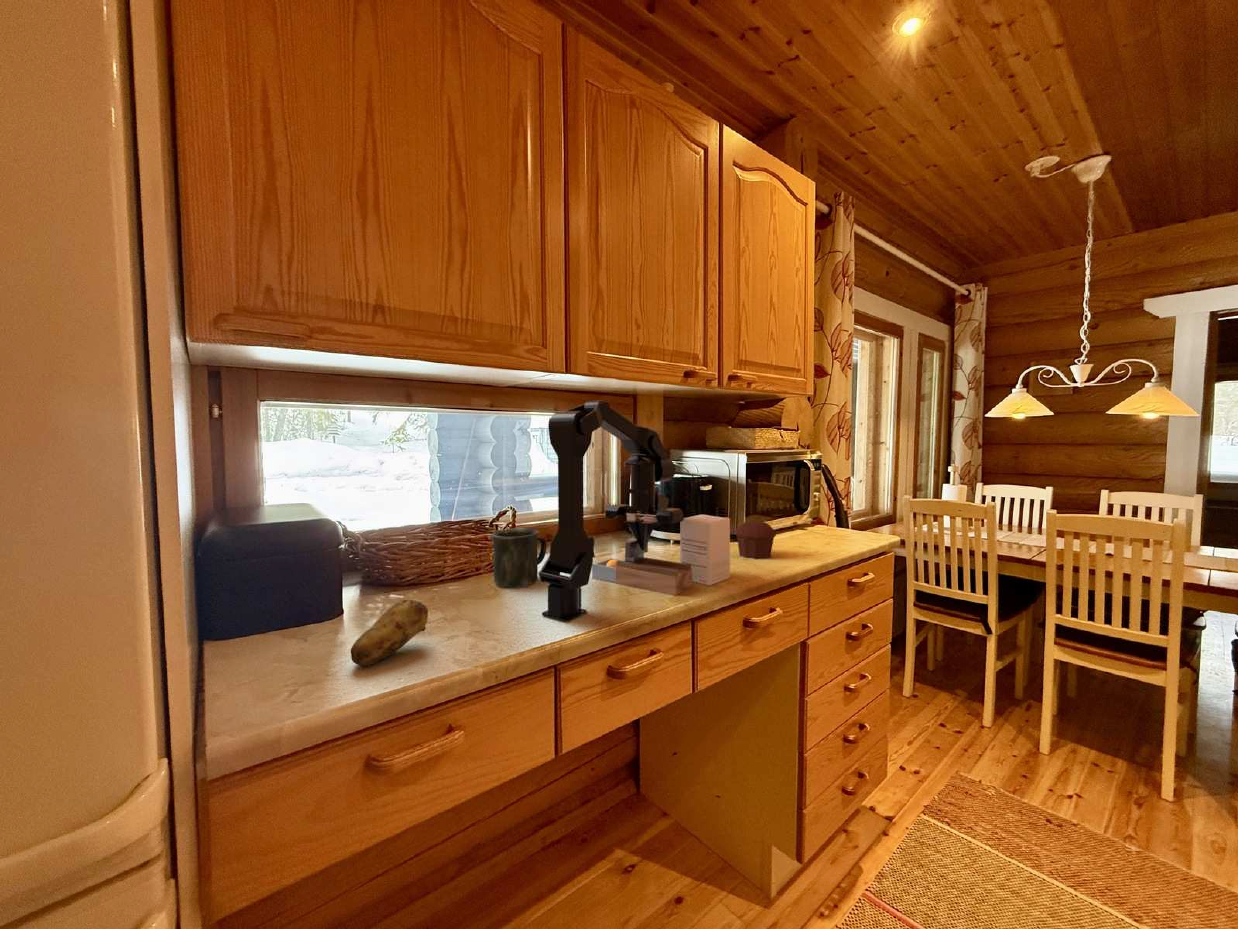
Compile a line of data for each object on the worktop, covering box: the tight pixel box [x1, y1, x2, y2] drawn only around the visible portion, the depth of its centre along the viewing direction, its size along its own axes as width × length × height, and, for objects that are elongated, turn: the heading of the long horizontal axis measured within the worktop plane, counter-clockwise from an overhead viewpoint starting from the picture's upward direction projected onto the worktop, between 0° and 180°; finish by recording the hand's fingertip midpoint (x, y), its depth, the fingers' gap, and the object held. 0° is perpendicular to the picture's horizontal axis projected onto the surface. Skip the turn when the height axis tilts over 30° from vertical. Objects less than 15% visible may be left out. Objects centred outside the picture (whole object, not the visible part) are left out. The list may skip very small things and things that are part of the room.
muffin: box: [734, 519, 777, 560], centre depth 152 cm, size 12×11×10 cm
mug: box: [490, 527, 547, 588], centre depth 126 cm, size 11×15×12 cm
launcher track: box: [615, 556, 693, 596], centre depth 122 cm, size 8×16×5 cm, turn 55°
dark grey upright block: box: [624, 538, 649, 564], centre depth 125 cm, size 8×2×6 cm, turn 145°
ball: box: [606, 558, 618, 568], centre depth 129 cm, size 4×4×4 cm
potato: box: [350, 599, 429, 667], centre depth 84 cm, size 8×13×8 cm, turn 135°
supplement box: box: [679, 514, 731, 586], centre depth 128 cm, size 9×9×15 cm
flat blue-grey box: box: [591, 557, 625, 584], centre depth 129 cm, size 8×8×4 cm
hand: (643, 549), depth 124 cm, fingers closed
